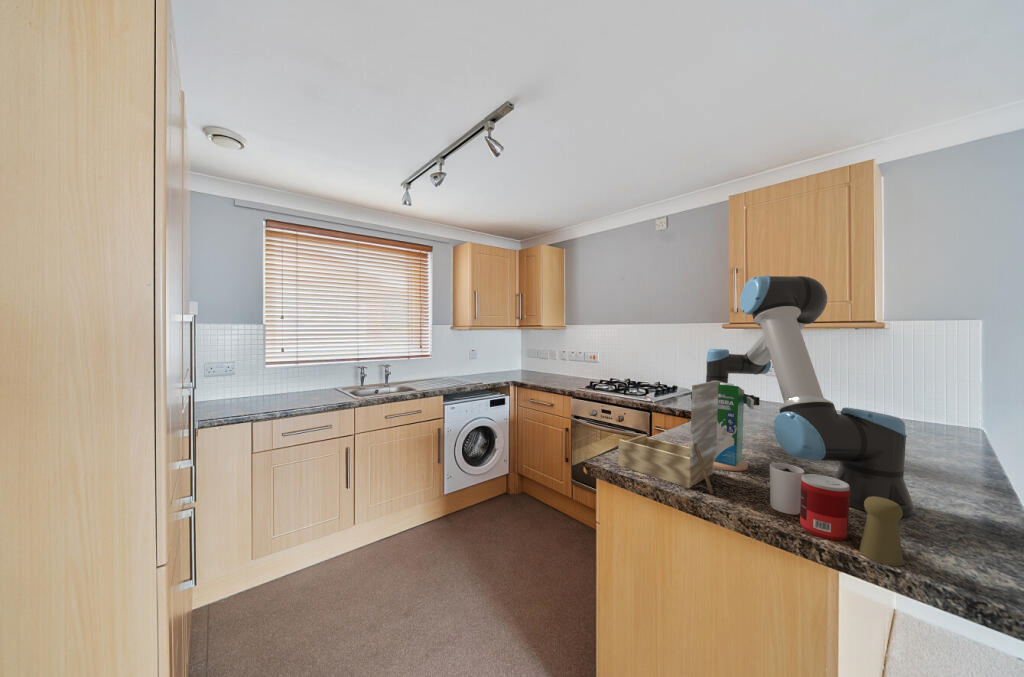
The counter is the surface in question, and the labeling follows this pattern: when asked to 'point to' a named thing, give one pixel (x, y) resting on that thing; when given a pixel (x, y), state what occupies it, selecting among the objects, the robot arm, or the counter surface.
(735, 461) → the milk carton
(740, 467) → the peach round coaster
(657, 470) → the cold frame
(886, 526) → the cork
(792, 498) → the white cylindrical container
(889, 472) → the robot arm
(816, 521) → the canned food
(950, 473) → the counter surface
